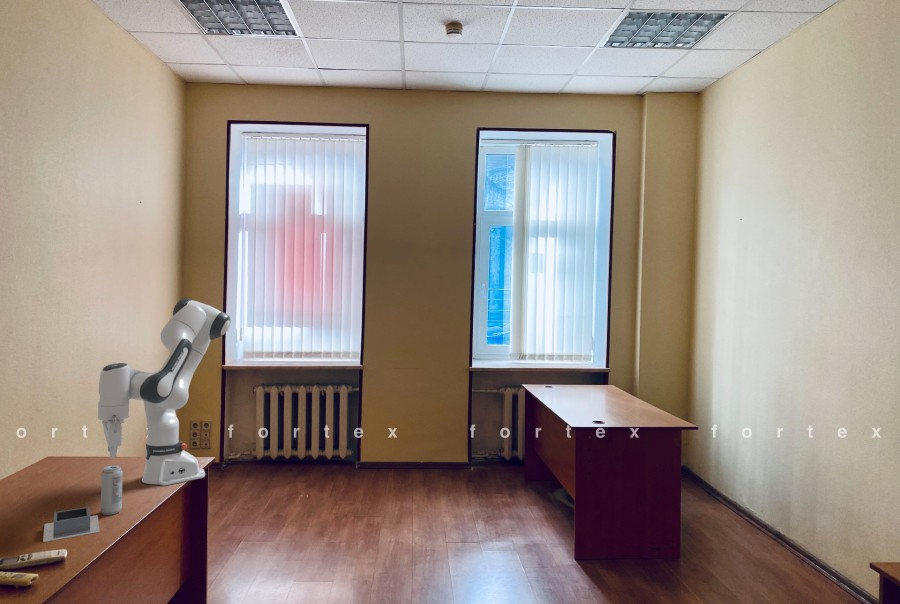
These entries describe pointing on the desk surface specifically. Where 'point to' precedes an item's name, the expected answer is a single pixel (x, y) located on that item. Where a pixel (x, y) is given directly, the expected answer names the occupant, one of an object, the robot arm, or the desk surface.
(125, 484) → the desk surface
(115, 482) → the energy drink can
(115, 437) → the robot arm
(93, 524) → the socket
